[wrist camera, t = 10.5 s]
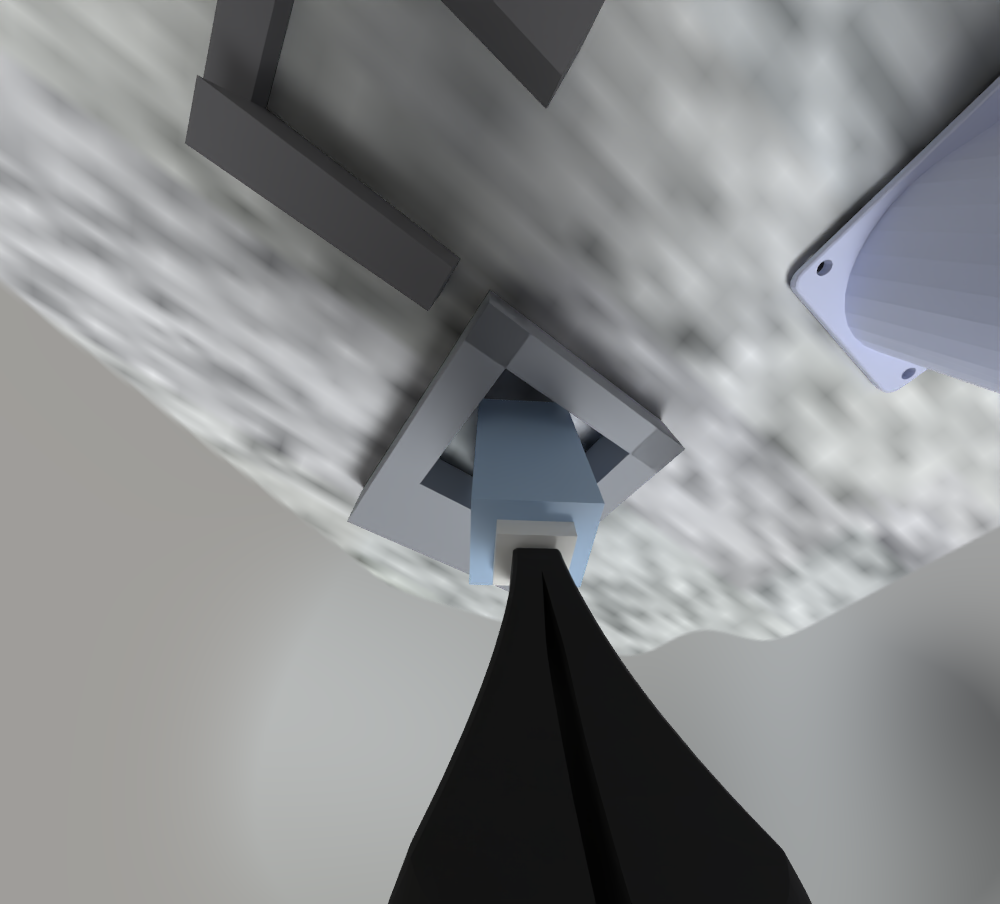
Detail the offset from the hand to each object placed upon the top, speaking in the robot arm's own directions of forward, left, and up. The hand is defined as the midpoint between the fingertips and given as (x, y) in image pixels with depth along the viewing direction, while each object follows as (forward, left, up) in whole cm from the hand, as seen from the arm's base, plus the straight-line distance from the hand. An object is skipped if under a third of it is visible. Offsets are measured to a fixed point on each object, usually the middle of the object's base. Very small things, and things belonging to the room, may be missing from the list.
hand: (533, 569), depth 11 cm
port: (+1, 0, -8) cm, 8 cm away
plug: (0, 0, -8) cm, 8 cm away
